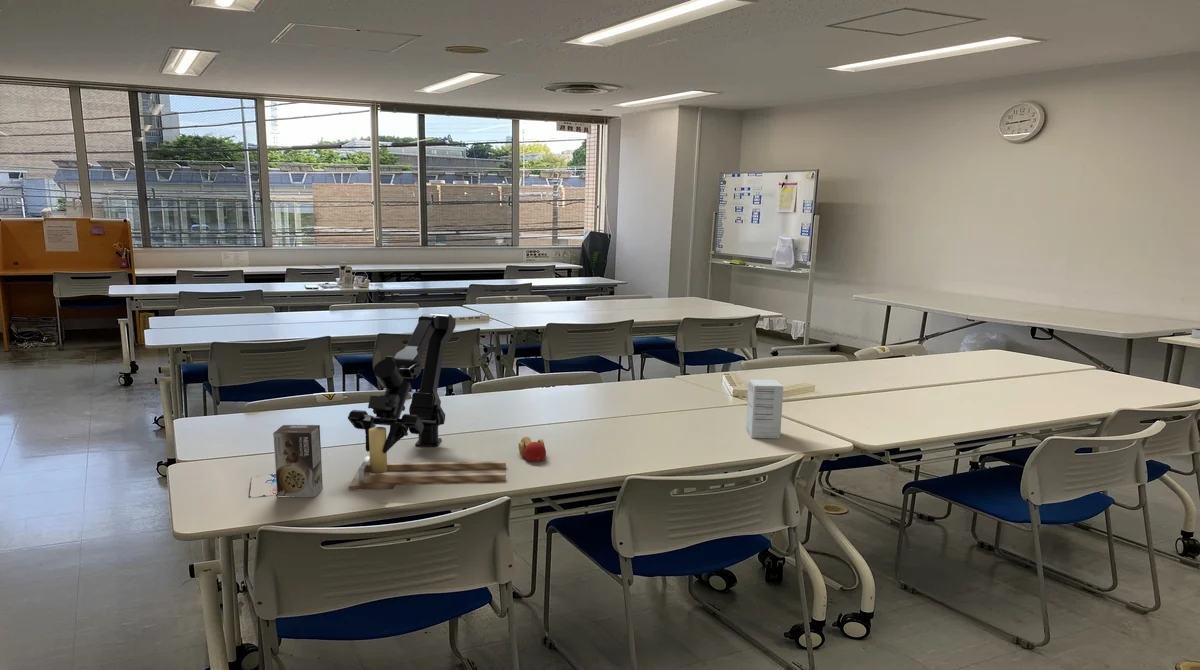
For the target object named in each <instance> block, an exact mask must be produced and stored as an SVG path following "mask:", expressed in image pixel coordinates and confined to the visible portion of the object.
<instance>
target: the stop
mask: <svg viewBox="0 0 1200 670" xmlns="http://www.w3.org/2000/svg"><path fill="white" fill-rule="evenodd" d="M359 467H360V468H358V469H359V483H364V476H365V475H369V473H370V455H366V456H365V458H364V459H363V461H362V463H361V465H360V466H359Z"/></svg>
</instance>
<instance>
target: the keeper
mask: <svg viewBox="0 0 1200 670" xmlns="http://www.w3.org/2000/svg"><path fill="white" fill-rule="evenodd" d="M386 439H387V428H386V427H384V426H376V427H373V428H370V429H369V452H368V453H369V456H370V473H373V474H381V473H385V472H387V463H388V451H387V452H386V453H383V448H384V444H385V442H386Z"/></svg>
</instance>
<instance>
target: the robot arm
mask: <svg viewBox="0 0 1200 670" xmlns="http://www.w3.org/2000/svg"><path fill="white" fill-rule="evenodd" d="M456 322H457V321H456V318H454V317H453V315H452V314H449V313H434V312H432V313H430V314H422V315H419V317H418V320H417V324H416V326H415V328H414V330H413V332H412V334H411V336H410V338H409V339H408V342H407V344H406V345H405V347H404V348H403V349H401V350H399V351H398V352H396V354H395V356H393V355H392V356H391V355H385V356H384V357H385V358H384V359H382V360H380V361H378V362H377V363H376V364H375V365H374V366H373V374H374V375H375V377H376V379H377V380H378V382H379V383H380V384H381V386H382V387H383V388H384V389H385V391H384V394H383V395H382V394H381V395H370V396H369V400H368V403H367V404H368V406H367V408H368V409H371V410H372V413H373V414H374V415H376V416H373V415H371V414H368V412H367V411H366V410H361V409H353V410H350V412H349V413H348V415H347V420H348V421H349V422H350V423H351V425H352V426H353V427H354V428H355V429H358V430H364V432H365V451H366V452H367V453H369V429H370V428H373V427H377V426H379V425H380V426H381V425H382V426H389V432H388V434H387V436H386V442H385V444H384V448H383V453H386V452H387V453H388V452H389V451H390V449H391V448H393V446H395V444H396V443H398V442H399V441H400V440H401V439H402V438H404V437H407V436H408V435H409V433H410V434H414V435H417V437H418V440H417V441H416V442H415V443H414V446H415V447H419V446H420V447H438V446H439V445H440V443H441V441H442V438H441V437H439V426H441V425H445V421H446V413H445V411H444V410H443V408H442V406H441V404H442V402H441V401H442V400H441V398H440V396H439V394H438V388H439V380H440V375H441V369H442V363H443V359H444V354H445V346H446V344H447V343H448V342H449V341H450V339H451V338H452V337H453V333H454V331H455V329H456ZM426 348H427V349H426ZM425 350H426V353H425V360H424V367H423V363H422V356H423V354H424V352H425ZM422 369H423V372H422ZM421 372H422V378H421V383H420V388H419V389H418V391H416V392H413V387H412V385H411V383H410V381H409V380H408V379H417V378H418V376H419V375H420V374H421ZM412 392H413V394H412V395H411V401H410V402H411V403H410V404H409V407H408V413H404V414H403V415H402V412H405V411H406V406H405V403H406V400H407V397H408V395H409V393H412ZM401 415H402V416H401ZM400 417H401V418H400ZM408 431H409V433H408Z"/></svg>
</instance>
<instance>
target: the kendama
mask: <svg viewBox="0 0 1200 670" xmlns="http://www.w3.org/2000/svg"><path fill="white" fill-rule="evenodd" d="M545 447H546V445H545V442H544V440H543V439H538V440H537V441H532V440H531V438H530V437H529V436H523V437H522V438H521V440H520V441H519V442H518V450H519V454H521V458H525V460H526V461H528V462H530V463H540V462H543V461H544V460H545V458H546V455H547V450H546V448H545Z"/></svg>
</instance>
